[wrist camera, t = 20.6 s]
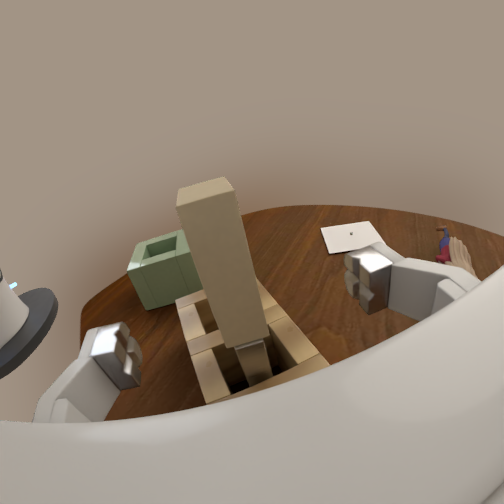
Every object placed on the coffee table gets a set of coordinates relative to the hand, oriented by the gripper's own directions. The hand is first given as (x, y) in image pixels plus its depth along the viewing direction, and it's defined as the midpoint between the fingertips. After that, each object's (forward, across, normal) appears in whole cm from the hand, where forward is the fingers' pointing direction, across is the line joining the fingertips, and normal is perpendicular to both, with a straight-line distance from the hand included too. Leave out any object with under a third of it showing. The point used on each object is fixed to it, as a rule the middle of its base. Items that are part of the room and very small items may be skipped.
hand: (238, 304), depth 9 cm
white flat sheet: (+24, -18, +13) cm, 32 cm away
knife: (+5, 0, +13) cm, 14 cm away
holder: (+25, +7, +13) cm, 29 cm away
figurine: (+8, -24, +13) cm, 28 cm away
